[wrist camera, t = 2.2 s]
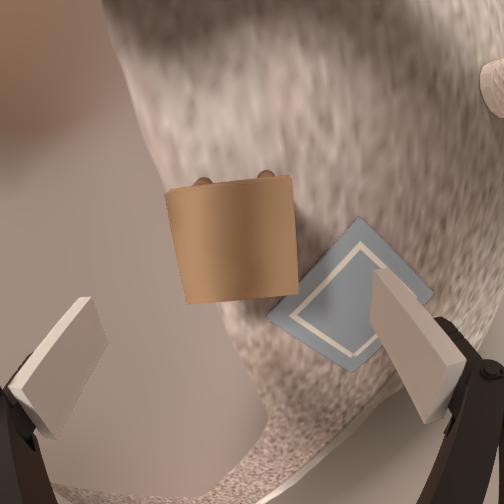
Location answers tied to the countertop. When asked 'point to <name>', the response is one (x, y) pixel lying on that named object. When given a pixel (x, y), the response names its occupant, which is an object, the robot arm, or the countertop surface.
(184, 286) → the stool
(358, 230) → the mat
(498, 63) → the white cup
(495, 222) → the countertop surface
